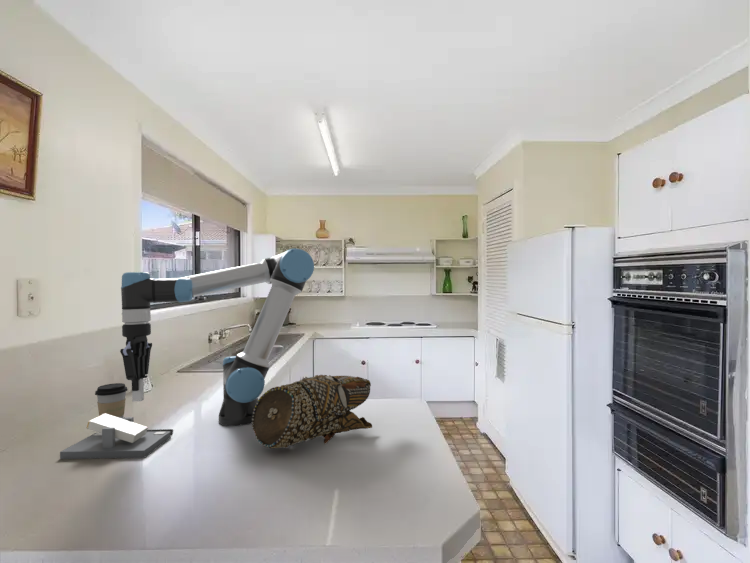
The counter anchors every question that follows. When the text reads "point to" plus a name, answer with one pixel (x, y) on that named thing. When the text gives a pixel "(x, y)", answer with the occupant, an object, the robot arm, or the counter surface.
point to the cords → (161, 430)
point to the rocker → (118, 427)
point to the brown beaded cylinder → (309, 410)
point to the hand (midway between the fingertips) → (138, 400)
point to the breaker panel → (115, 445)
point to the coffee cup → (111, 399)
